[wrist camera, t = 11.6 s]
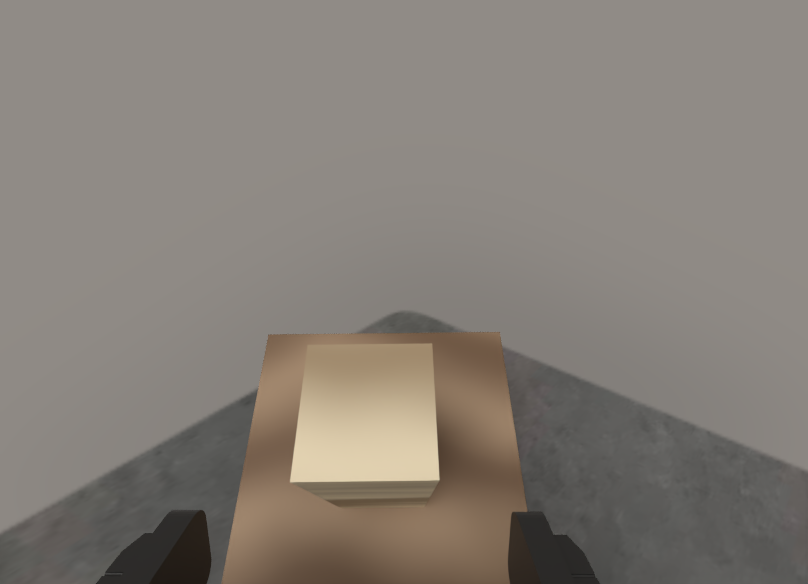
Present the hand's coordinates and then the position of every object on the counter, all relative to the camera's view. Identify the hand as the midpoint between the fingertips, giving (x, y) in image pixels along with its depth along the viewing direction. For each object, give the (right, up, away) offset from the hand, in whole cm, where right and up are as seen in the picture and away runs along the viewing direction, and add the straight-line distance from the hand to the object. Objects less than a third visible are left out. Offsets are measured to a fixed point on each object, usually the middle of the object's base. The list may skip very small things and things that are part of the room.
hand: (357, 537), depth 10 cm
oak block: (0, -2, +10) cm, 10 cm away
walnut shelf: (0, -12, +25) cm, 27 cm away
